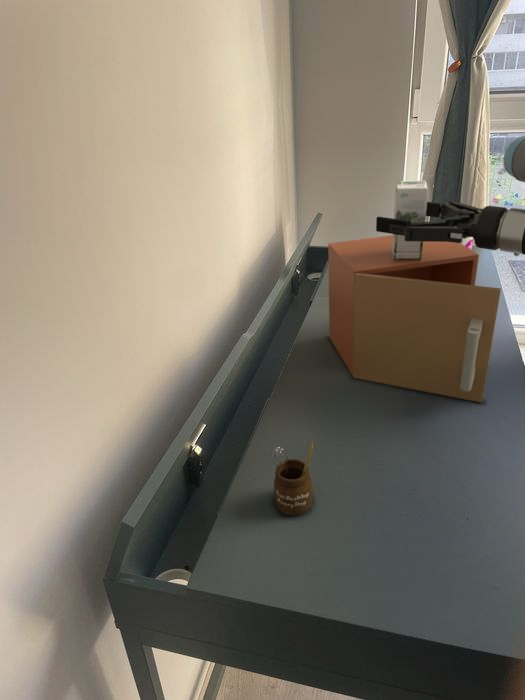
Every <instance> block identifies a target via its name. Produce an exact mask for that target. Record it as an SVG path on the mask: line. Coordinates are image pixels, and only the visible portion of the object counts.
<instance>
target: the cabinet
mask: <svg viewBox="0 0 525 700" xmlns="http://www.w3.org/2000/svg"><path fill="white" fill-rule="evenodd" d="M392 243H393V234H390V235H384V236H375V237H369V238H368V237H367V238H359V239H352V240H345V241H344V240H343V241H337V242H330V243H328V244H327V246H328V247H327V248H328V253H327V254H328V321H329V322H328V332H329V336H328V337H329V339H330V341H331V342H332V344H333V346H334V348H335V349H336V351H337V352H338V354H339V356H340V357H341V359H342V361H343V362H344V363H345V365H346V367H347V369H348V370H349V372H350V374H351V375H352V376H353V348H354V285H355V274H356V273H362V274H371V275H381V276H390V277H399V278H409V279H418V280H427V281H437V282H446V283H455V284H465V285H474V286H476V279H477V271H478V263H479V256H480V254H479V253H477V252H476V251H474V250H473V249H472V250H470V249H469V248H467V247H466V246H464V245H462V244H461V243H454V242H429V241H423V252H422V259H418V260H394V259H393V252H392Z"/></svg>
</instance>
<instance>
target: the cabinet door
mask: <svg viewBox="0 0 525 700" xmlns="http://www.w3.org/2000/svg"><path fill="white" fill-rule="evenodd" d="M501 291H502V288H501V287H492V286H482V285H475V286H474V285H465V284H455V283H446V282H437V281H427V280H418V279H409V278H399V277H390V276H381V275H371V274H362V273H356V274H355V285H354V348H353V375H352V378H354V379H357V380H362V381H368V382H374V383H379V384H383V385H388V386H393V387H400V388H405V389H410V390H415V391H420V392H424V393H425V392H426V393H431V394H435V395H440V396H446V397H452V398H455V399H462V400H466V401H471V402H475V403H476V402H477V403H483V399H484V394H485V388H486V382H487V375H488V370H489V364H490V363H489V362H490V357H491V351H492V346H493V341H494V333H495V326H496V321H497V315H498V309H499V304H500V297H501Z"/></svg>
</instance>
